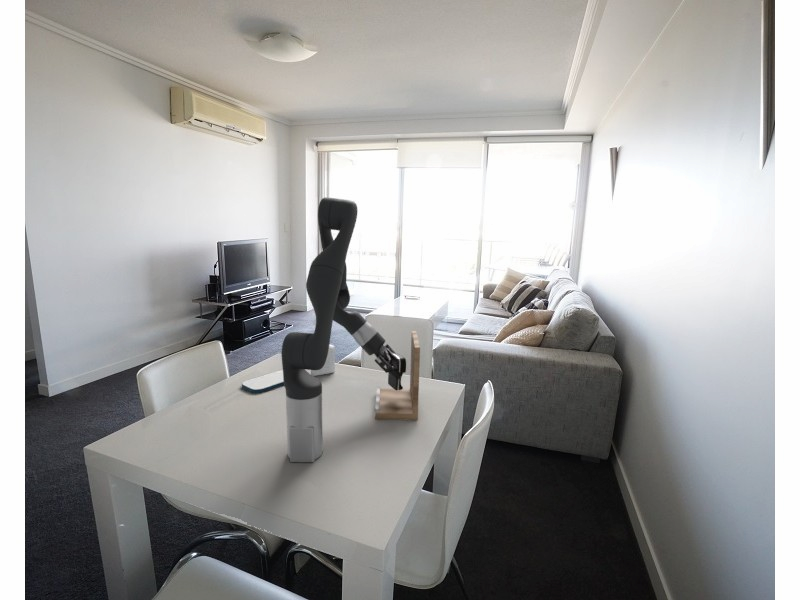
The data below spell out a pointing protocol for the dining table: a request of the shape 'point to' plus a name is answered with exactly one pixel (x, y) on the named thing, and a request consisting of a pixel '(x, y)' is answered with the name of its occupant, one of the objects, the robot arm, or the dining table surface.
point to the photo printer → (327, 363)
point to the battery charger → (400, 365)
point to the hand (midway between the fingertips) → (401, 374)
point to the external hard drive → (264, 382)
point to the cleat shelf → (401, 392)
